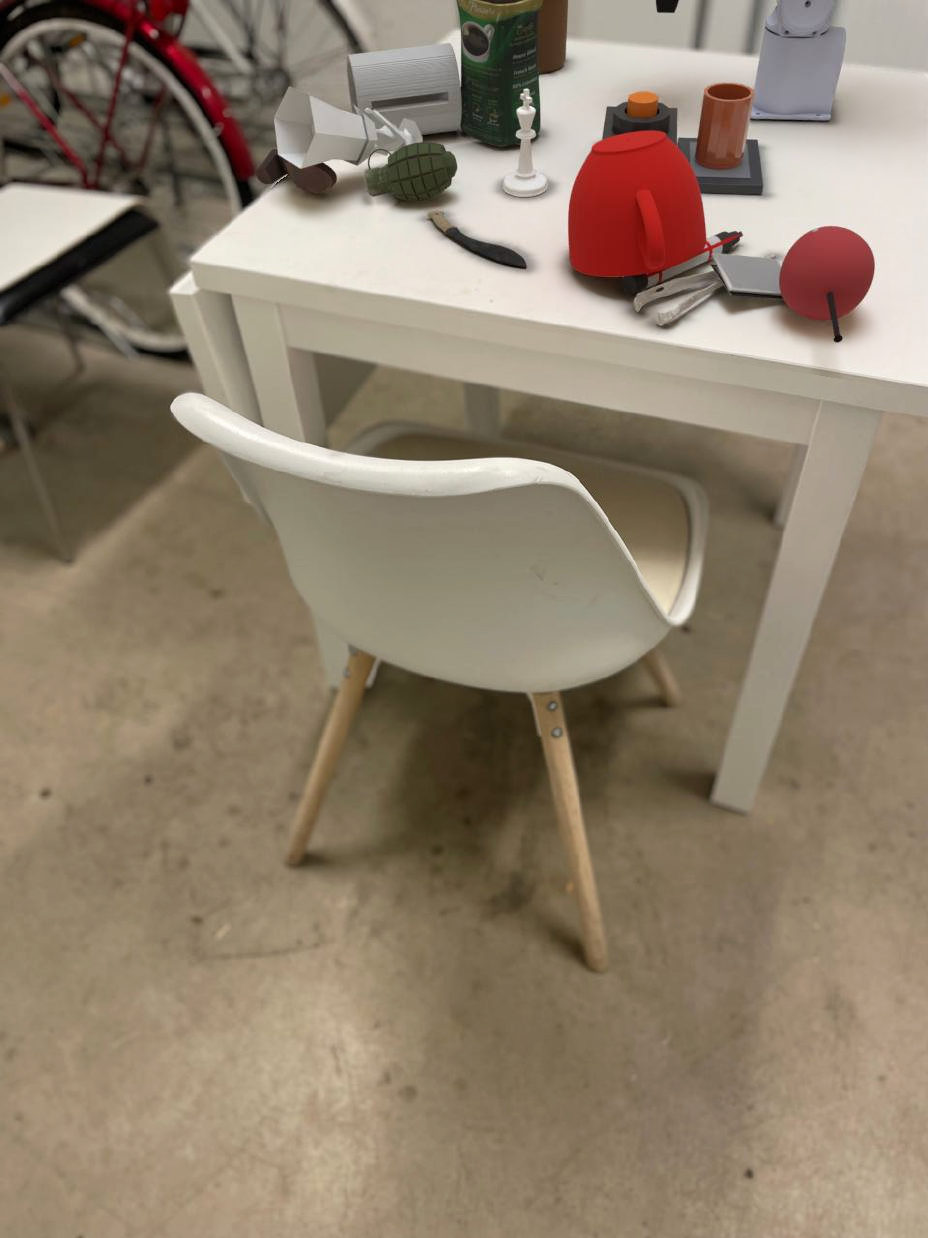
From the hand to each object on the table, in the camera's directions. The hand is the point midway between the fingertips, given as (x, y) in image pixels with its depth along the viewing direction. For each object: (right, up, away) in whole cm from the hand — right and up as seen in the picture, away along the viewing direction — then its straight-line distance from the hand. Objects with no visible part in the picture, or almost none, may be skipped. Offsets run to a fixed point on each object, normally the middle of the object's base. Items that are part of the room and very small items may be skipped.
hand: (665, 10), depth 111 cm
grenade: (-24, -22, -9) cm, 34 cm away
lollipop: (+6, -49, -36) cm, 61 cm away
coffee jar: (-19, -13, +4) cm, 23 cm away
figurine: (-41, -20, -13) cm, 48 cm away
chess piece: (-17, -24, -6) cm, 30 cm away
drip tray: (+5, -21, -5) cm, 22 cm away
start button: (-4, -16, -8) cm, 19 cm away
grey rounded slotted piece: (-37, -10, +1) cm, 38 cm away
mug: (-15, +4, +18) cm, 24 cm away
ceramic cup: (-9, -29, -27) cm, 41 cm away
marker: (-1, -37, -20) cm, 42 cm away
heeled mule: (-43, -22, -6) cm, 49 cm away
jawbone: (0, -40, -21) cm, 46 cm away
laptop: (+4, -39, -25) cm, 46 cm away
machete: (-20, -32, -13) cm, 40 cm away
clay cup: (+5, -20, -6) cm, 21 cm away
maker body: (-4, -20, -4) cm, 21 cm away
